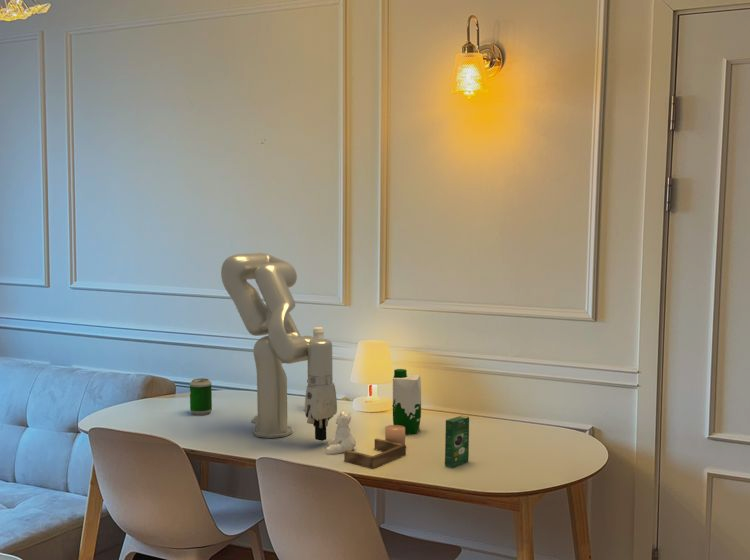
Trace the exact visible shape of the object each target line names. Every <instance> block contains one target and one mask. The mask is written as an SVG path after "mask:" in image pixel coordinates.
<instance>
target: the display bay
mask: <svg viewBox="0 0 750 560" xmlns="http://www.w3.org/2000/svg"><path fill="white" fill-rule="evenodd" d="M375 449H377V450H376V451H380V450H381V451H380V453H377V454H375V455H369V454H366V453H362V452H357V451H353V450H351V451H350V450H345V451H344V454H343V458H344V459H343V461H344V462H346V463H350V464H354V465H358V466H362V467H365V468H369V469H374V470H375V469H377V468H379V467H382V466H384V465H386V464H388V463H390V461H391V462H393V461H395V460H398V459H400V458H403V457H404V456H407V455H406V454H407V445H406V444H405V445H404V444H399V443H395V442H390V441H386V440H385V439H382V438H375V439H374V450H375ZM384 451H385V452H384ZM402 456H403V457H402ZM397 458H398V459H397ZM385 463H386V464H385ZM383 464H384V465H383Z"/></svg>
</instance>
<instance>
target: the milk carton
mask: <svg viewBox="0 0 750 560" xmlns="http://www.w3.org/2000/svg"><path fill="white" fill-rule="evenodd" d="M393 372H394V373H393V378H392V423H393V424H392V425H401V426H404V427H405V435H412V434H416V435H417V433H418V432H417V431H419V430H420V425H421V418H422V383H421V382H422V381H421V380H422V379H421V375H420V374H410V373H409V374H407V369H406V368H405V369H404V368H395V369H394V370H393Z"/></svg>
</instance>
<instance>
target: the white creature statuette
mask: <svg viewBox="0 0 750 560" xmlns="http://www.w3.org/2000/svg"><path fill="white" fill-rule="evenodd" d="M351 420H352V416H351V413H350V411H346V410H342V411H340V413H339V415H338V416H337V417H336V421H335V424H337V426H336V431H335V435H334V438H332V439H329V440H328V441H327V445H328V446H327V447H326V448H325V453H326V454H327V455H337V454H343V453H344V451H345V450H350V451H353V450H354V449H355V447H356V444H357V443H356V439H355V438H356V437H354V436H353V434H352V433H351V427H349V425H350V422H351Z"/></svg>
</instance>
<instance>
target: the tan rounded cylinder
mask: <svg viewBox="0 0 750 560" xmlns="http://www.w3.org/2000/svg"><path fill="white" fill-rule="evenodd" d="M384 440H386V441H390V442H395V443H399V444H404V445H406V434H405V427H404V426H401V425H393V424H389V425H386V426H385V427H384Z"/></svg>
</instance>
